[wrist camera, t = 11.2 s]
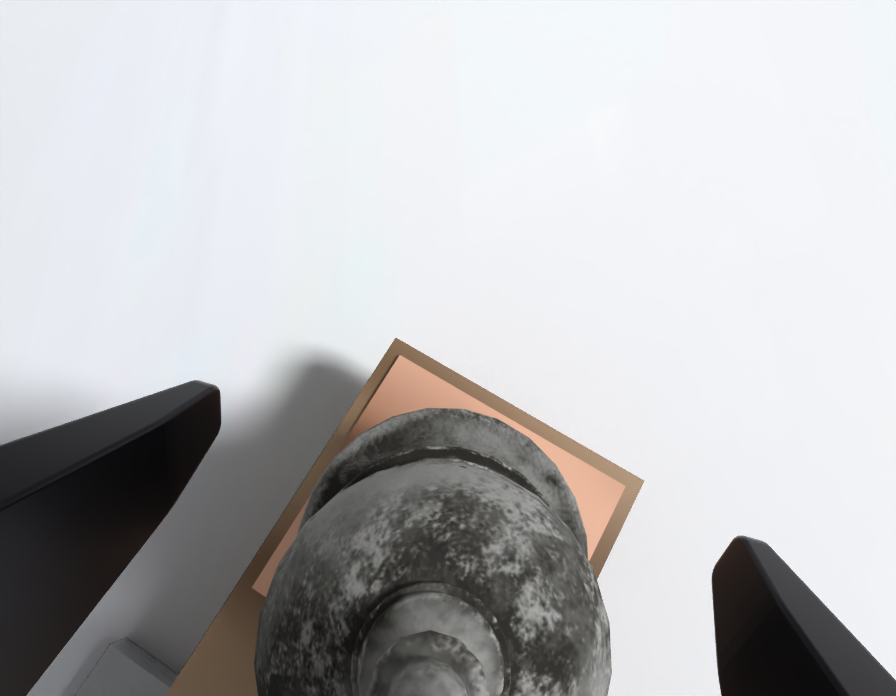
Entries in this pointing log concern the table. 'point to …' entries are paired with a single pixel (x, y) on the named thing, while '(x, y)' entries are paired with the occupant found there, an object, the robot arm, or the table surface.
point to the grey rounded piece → (436, 572)
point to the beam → (385, 395)
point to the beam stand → (127, 673)
